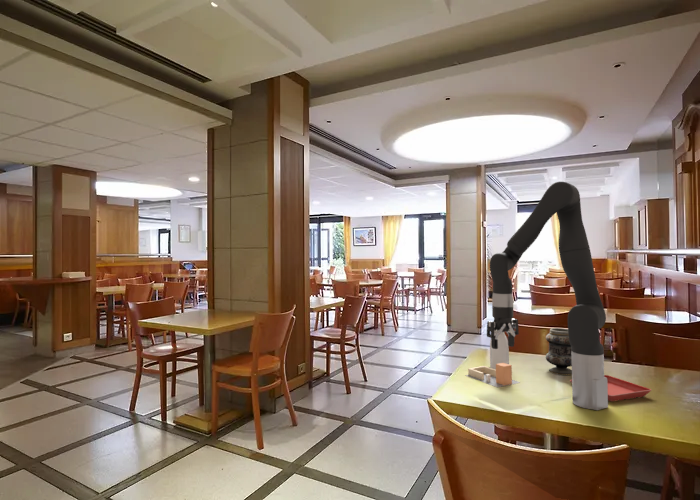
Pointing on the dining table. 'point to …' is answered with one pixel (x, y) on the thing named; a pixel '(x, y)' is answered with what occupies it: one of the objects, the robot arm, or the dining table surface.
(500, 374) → the orange rectangular block
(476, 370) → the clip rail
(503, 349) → the milk bottle
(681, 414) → the dining table surface
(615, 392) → the plant saucer
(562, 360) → the carved stone vase
